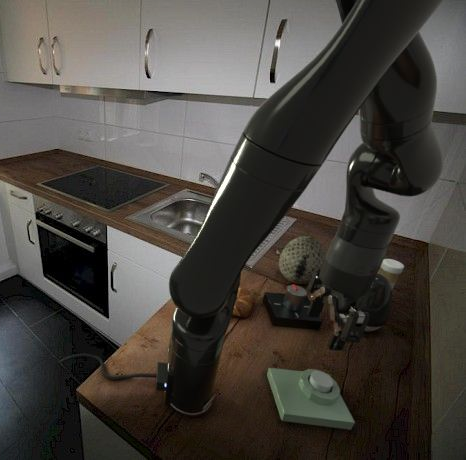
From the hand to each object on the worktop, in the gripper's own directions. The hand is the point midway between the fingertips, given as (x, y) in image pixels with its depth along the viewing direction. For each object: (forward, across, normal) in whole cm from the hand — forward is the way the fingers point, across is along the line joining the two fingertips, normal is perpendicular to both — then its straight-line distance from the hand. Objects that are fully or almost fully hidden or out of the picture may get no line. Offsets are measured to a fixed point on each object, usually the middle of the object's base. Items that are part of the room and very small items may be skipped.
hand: (322, 331), depth 61 cm
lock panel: (+13, +19, -4) cm, 23 cm away
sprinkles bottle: (+13, +26, -29) cm, 41 cm away
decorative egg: (+13, +34, -12) cm, 39 cm away
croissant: (+13, +22, +10) cm, 27 cm away
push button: (+9, -5, 0) cm, 10 cm away
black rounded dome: (+13, +17, -20) cm, 29 cm away
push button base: (+13, -6, +2) cm, 14 cm away
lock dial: (+10, +19, -4) cm, 21 cm away
